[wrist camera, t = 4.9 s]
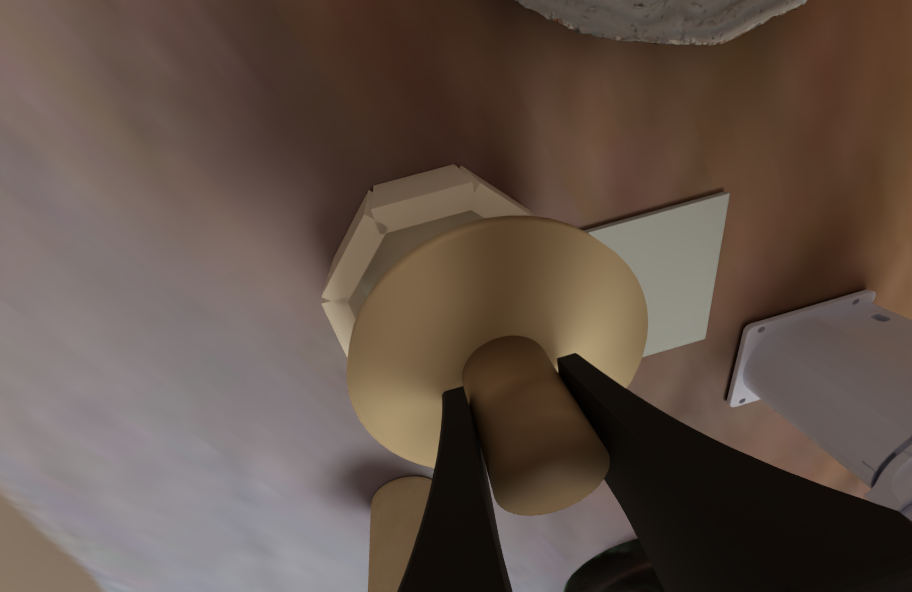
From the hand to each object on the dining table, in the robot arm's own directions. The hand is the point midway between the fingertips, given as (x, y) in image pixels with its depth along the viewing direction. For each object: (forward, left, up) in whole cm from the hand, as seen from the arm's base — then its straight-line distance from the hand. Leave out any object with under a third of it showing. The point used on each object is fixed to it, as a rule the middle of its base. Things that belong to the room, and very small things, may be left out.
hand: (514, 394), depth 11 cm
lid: (0, 0, -2) cm, 2 cm away
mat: (-10, +5, -9) cm, 14 cm away
